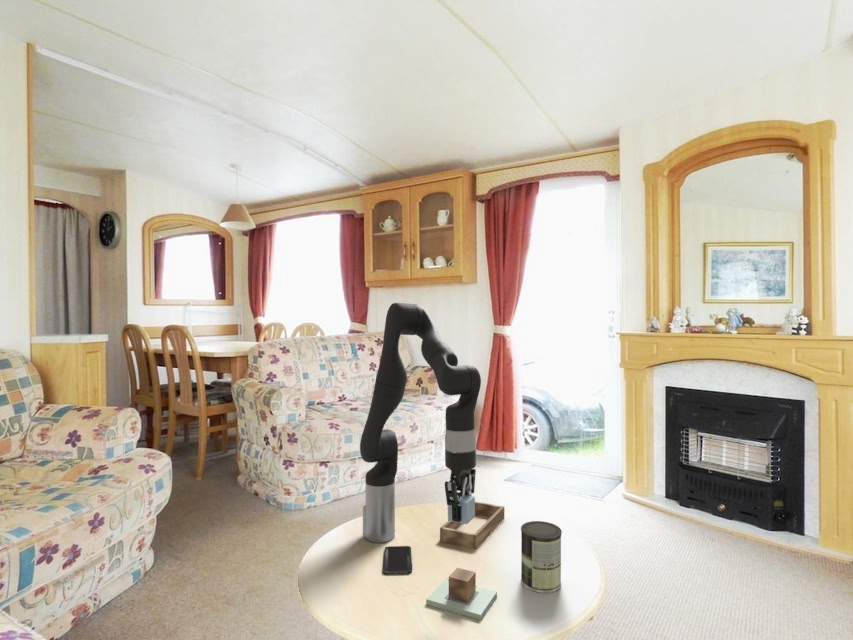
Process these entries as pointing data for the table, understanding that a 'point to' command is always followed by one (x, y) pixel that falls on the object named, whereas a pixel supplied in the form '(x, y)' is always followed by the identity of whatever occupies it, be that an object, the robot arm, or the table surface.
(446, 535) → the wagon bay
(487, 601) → the plate
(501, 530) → the table surface
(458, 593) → the walnut block
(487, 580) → the table surface
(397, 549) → the phone
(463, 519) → the blue block
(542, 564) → the coffee can
